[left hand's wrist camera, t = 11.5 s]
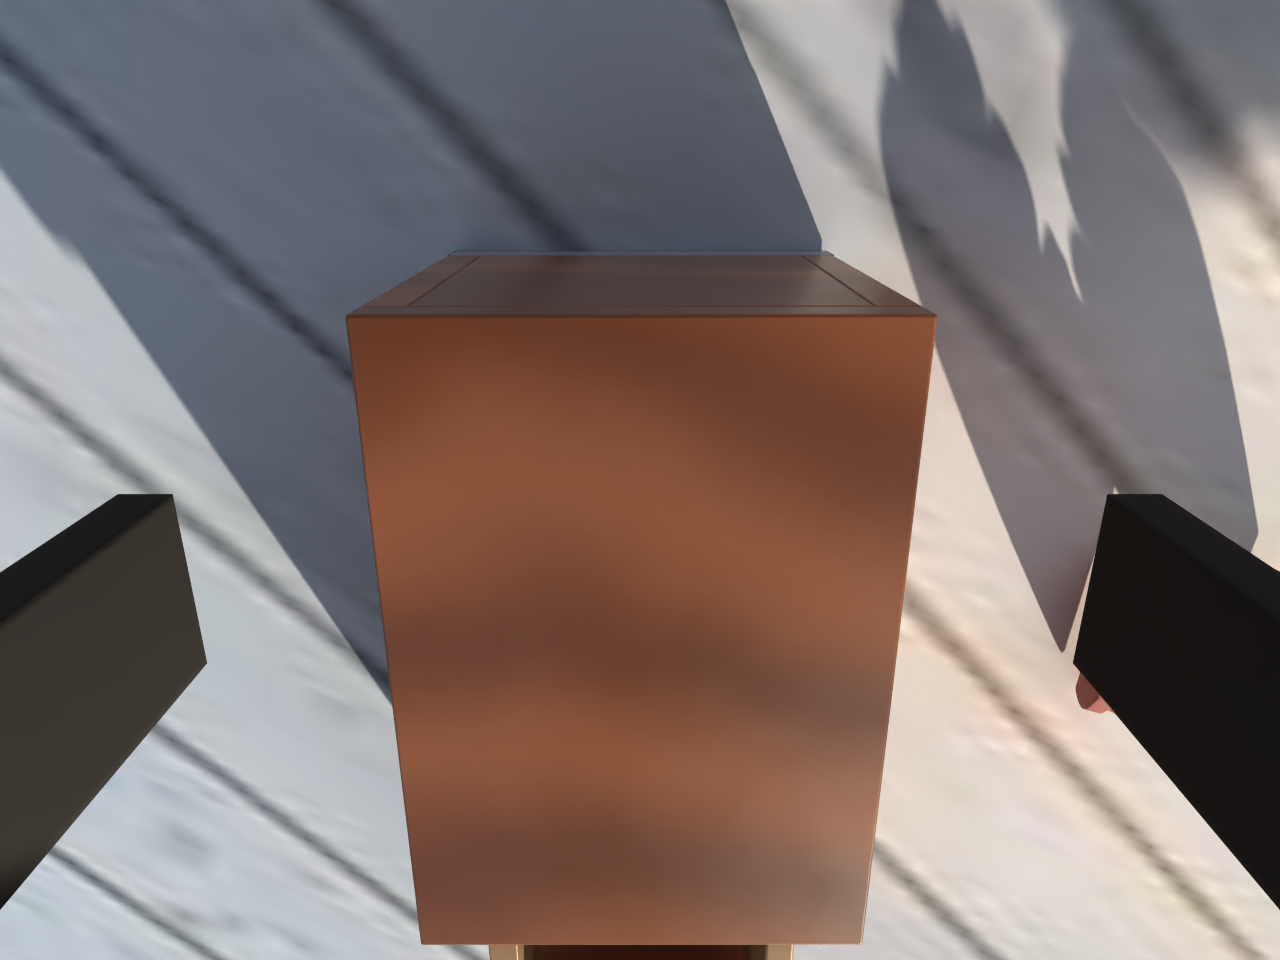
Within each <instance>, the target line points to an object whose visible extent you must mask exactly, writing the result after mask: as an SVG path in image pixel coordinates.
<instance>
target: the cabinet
mask: <svg viewBox="0 0 1280 960" xmlns="http://www.w3.org/2000/svg"><path fill="white" fill-rule="evenodd" d="M936 323H937V315H936V314H934V313H932V312H931V311H929V310H927V309H925V308H924V307H922V306H920V305H918V304H917V303H915V302H913V301H911V300H910V299H908V298H906V297H904V296H903V295H901V294H899V293H897V292H896V291H894V290H892V289H890V288H889V287H887V286H885V285H883V284H882V283H880V282H878V281H876V280H874V279H873V278H871V277H869V276H867V275H866V274H864V273H862V272H860V271H859V270H857V269H855V268H853V267H852V266H850V265H848V264H846V263H845V262H843V261H841V260H839V259H838V258H836V257H834V255H833V254H831V253H830V252H828V251H455V252H453V253H451V254H449V255H448V257H446V258H445V259H443V260H441V261H439V262H438V263H436V264H434V265H432V266H431V267H429V268H427V269H425V270H424V271H422V272H420V273H418V274H417V275H415V276H413V277H412V278H410V279H408V280H406V281H405V282H403V283H401V284H399V285H398V286H396V287H394V288H392V289H391V290H389V291H387V292H386V293H384V294H382V295H380V296H379V297H377V298H375V299H373V300H372V301H370V302H368V303H366V304H365V305H363V306H361V307H360V308H358V309H356V310H355V311H353V312H351V313H350V314H348V315H346V325H347V333H348V341H349V349H350V358H351V366H352V374H353V383H354V391H355V399H356V407H357V416H358V424H359V432H360V441H361V449H362V457H363V465H364V474H365V482H366V490H367V499H368V507H369V515H370V524H371V532H372V540H373V548H374V557H375V565H376V573H377V582H378V590H379V598H380V606H381V615H382V623H383V631H384V640H385V648H386V656H387V664H388V673H389V681H390V689H391V698H392V706H393V714H394V722H395V731H396V739H397V747H398V756H399V764H400V772H401V781H402V789H403V797H404V805H405V814H406V822H407V830H408V839H409V847H410V855H411V863H412V872H413V880H414V888H415V897H416V905H417V913H418V921H419V930H420V938H421V944H423V945H840V944H862V940H863V931H864V923H865V915H866V906H867V898H868V890H869V881H870V873H871V865H872V856H873V848H874V840H875V831H876V823H877V815H878V806H879V798H880V790H881V781H882V773H883V765H884V756H885V748H886V740H887V731H888V723H889V715H890V706H891V698H892V690H893V681H894V673H895V665H896V656H897V648H898V640H899V631H900V623H901V615H902V606H903V598H904V590H905V582H906V573H907V565H908V557H909V548H910V540H911V532H912V523H913V515H914V507H915V498H916V490H917V482H918V473H919V465H920V457H921V448H922V440H923V432H924V423H925V415H926V407H927V398H928V390H929V382H930V373H931V365H932V357H933V348H934V340H935V332H936Z"/></svg>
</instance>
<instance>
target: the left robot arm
mask: <svg viewBox="0 0 1280 960" xmlns="http://www.w3.org/2000/svg"><path fill="white" fill-rule="evenodd" d="M206 664H207V660H206V655H205V651H204V646H203V641H202V636H201V631H200V626H199V621H198V616H197V611H196V606H195V602H194V597H193V592H192V587H191V582H190V577H189V572H188V567H187V562H186V557H185V553H184V548H183V543H182V538H181V533H180V528H179V523H178V518H177V513H176V508H175V504H174V499H173V494H118V495H116V496H115V497H113V498H112V499H110V500H109V501H107V502H106V503H104V504H103V505H101V506H100V507H98V508H97V509H95V510H94V511H92V512H91V513H89V514H88V515H86V516H85V517H83V518H82V519H80V520H79V521H77V522H76V523H74V524H73V525H71V526H70V527H68V528H66V529H65V530H63V531H62V532H60V533H59V534H57V535H56V536H54V537H53V538H51V539H50V540H48V541H47V542H45V543H44V544H42V545H41V546H39V547H38V548H36V549H35V550H33V551H32V552H30V553H29V554H27V555H26V556H24V557H23V558H21V559H20V560H18V561H17V562H15V563H14V564H12V565H11V566H9V567H8V568H6V569H5V570H3V571H2V572H0V909H1V908H2V907H3V906H4V905H5V903H6V902H7V901H8V900H9V899H10V897H11V896H12V895H13V894H14V893H15V892H16V890H17V889H18V888H19V887H20V886H21V884H22V883H23V882H24V881H25V880H26V878H27V877H28V876H29V875H30V874H31V872H32V871H33V870H34V869H35V868H36V866H37V865H38V864H39V863H40V862H41V861H42V859H43V858H44V857H45V856H46V855H47V853H48V852H49V851H50V850H51V849H52V847H53V846H54V845H55V844H56V843H57V841H58V840H59V839H60V838H61V837H62V836H63V834H64V833H65V832H66V831H67V830H68V828H69V827H70V826H71V825H72V824H73V822H74V821H75V820H76V819H77V818H78V816H79V815H80V814H81V813H82V812H83V810H84V809H85V808H86V807H87V806H88V805H89V803H90V802H91V801H92V800H93V799H94V797H95V796H96V795H97V794H98V793H99V791H100V790H101V789H102V788H103V787H104V785H105V784H106V783H107V782H108V781H109V779H110V778H111V777H112V776H113V775H114V774H115V772H116V771H117V770H118V769H119V768H120V766H121V765H122V764H123V763H124V762H125V760H126V759H127V758H128V757H129V756H130V754H131V753H132V752H133V751H134V750H135V749H136V747H137V746H138V745H139V744H140V743H141V741H142V740H143V739H144V738H145V737H146V735H147V734H148V733H149V732H150V731H151V729H152V728H153V727H154V726H155V725H156V723H157V722H158V721H159V720H160V719H161V718H162V716H163V715H164V714H165V713H166V712H167V710H168V709H169V708H170V707H171V706H172V704H173V703H174V702H175V701H176V700H177V698H178V697H179V696H180V695H181V694H182V692H183V691H184V690H185V689H186V688H187V687H188V685H189V684H190V683H191V682H192V681H193V679H194V678H195V677H196V676H197V675H198V673H199V672H200V671H201V670H202V669H203V667H204V666H205V665H206ZM1073 664H1074V665H1075V666H1076V667H1077V669H1078V670H1079V671H1080V672H1081V673H1082V675H1083V676H1084V677H1085V678H1086V679H1087V681H1088V682H1089V683H1090V684H1091V685H1092V687H1093V688H1094V689H1095V690H1096V691H1097V692H1098V694H1099V695H1100V696H1101V697H1102V698H1103V700H1104V701H1105V702H1106V703H1107V704H1108V706H1109V707H1110V708H1111V709H1112V710H1113V712H1114V713H1115V714H1116V715H1117V716H1118V718H1119V719H1120V720H1121V721H1122V722H1123V723H1124V725H1125V726H1126V727H1127V728H1128V729H1129V731H1130V732H1131V733H1132V734H1133V735H1134V737H1135V738H1136V739H1137V740H1138V741H1139V743H1140V744H1141V745H1142V746H1143V747H1144V749H1145V750H1146V751H1147V752H1148V753H1149V754H1150V756H1151V757H1152V758H1153V759H1154V760H1155V762H1156V763H1157V764H1158V765H1159V766H1160V768H1161V769H1162V770H1163V771H1164V772H1165V774H1166V775H1167V776H1168V777H1169V778H1170V779H1171V781H1172V782H1173V783H1174V784H1175V785H1176V787H1177V788H1178V789H1179V790H1180V791H1181V793H1182V794H1183V795H1184V796H1185V797H1186V799H1187V800H1188V801H1189V802H1190V803H1191V805H1192V806H1193V807H1194V808H1195V809H1196V810H1197V812H1198V813H1199V814H1200V815H1201V816H1202V818H1203V819H1204V820H1205V821H1206V822H1207V824H1208V825H1209V826H1210V827H1211V828H1212V830H1213V831H1214V832H1215V833H1216V834H1217V836H1218V837H1219V838H1220V839H1221V840H1222V841H1223V843H1224V844H1225V845H1226V846H1227V847H1228V849H1229V850H1230V851H1231V852H1232V853H1233V855H1234V856H1235V857H1236V858H1237V859H1238V861H1239V862H1240V863H1241V864H1242V865H1243V866H1244V868H1245V869H1246V870H1247V871H1248V872H1249V874H1250V875H1251V876H1252V877H1253V878H1254V880H1255V881H1256V882H1257V883H1258V884H1259V886H1260V887H1261V888H1262V889H1263V890H1264V892H1265V893H1266V894H1267V895H1268V896H1269V897H1270V899H1271V900H1272V901H1273V902H1274V903H1275V905H1276V906H1277V907H1278V908H1279V909H1280V572H1278V571H1277V570H1275V569H1274V568H1272V567H1271V566H1269V565H1268V564H1266V563H1265V562H1263V561H1262V560H1260V559H1259V558H1257V557H1256V556H1254V555H1253V554H1251V553H1250V552H1248V551H1247V550H1245V549H1244V548H1242V547H1241V546H1239V545H1238V544H1236V543H1235V542H1233V541H1232V540H1230V539H1229V538H1227V537H1226V536H1224V535H1223V534H1221V533H1220V532H1218V531H1217V530H1215V529H1213V528H1212V527H1210V526H1209V525H1207V524H1206V523H1204V522H1203V521H1201V520H1200V519H1198V518H1197V517H1195V516H1194V515H1192V514H1191V513H1189V512H1188V511H1186V510H1185V509H1183V508H1182V507H1180V506H1179V505H1177V504H1176V503H1174V502H1173V501H1171V500H1170V499H1168V498H1167V497H1165V496H1164V495H1162V494H1107V499H1106V504H1105V508H1104V513H1103V518H1102V523H1101V528H1100V533H1099V538H1098V543H1097V548H1096V553H1095V557H1094V562H1093V567H1092V572H1091V577H1090V582H1089V587H1088V592H1087V597H1086V602H1085V606H1084V611H1083V616H1082V621H1081V626H1080V631H1079V636H1078V641H1077V646H1076V651H1075V655H1074V660H1073Z"/></svg>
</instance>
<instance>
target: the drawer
mask: <svg viewBox="0 0 1280 960" xmlns="http://www.w3.org/2000/svg"><path fill="white" fill-rule="evenodd" d="M793 951H794V945H489V954H490V960H793Z"/></svg>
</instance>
